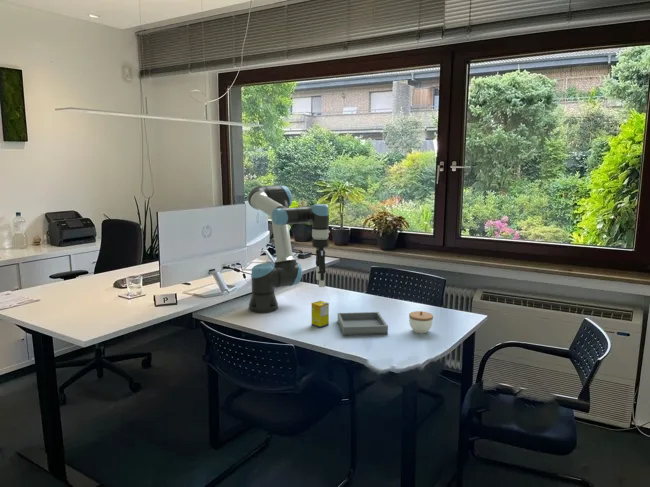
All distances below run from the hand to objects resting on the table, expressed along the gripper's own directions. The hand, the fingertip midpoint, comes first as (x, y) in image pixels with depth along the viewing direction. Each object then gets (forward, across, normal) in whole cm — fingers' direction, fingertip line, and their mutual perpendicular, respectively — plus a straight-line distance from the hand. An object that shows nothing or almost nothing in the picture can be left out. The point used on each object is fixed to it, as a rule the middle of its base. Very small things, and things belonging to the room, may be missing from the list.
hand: (320, 283), depth 227 cm
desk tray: (+20, -5, -19) cm, 28 cm away
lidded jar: (+21, -12, -45) cm, 51 cm away
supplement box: (+21, 0, 0) cm, 21 cm away
